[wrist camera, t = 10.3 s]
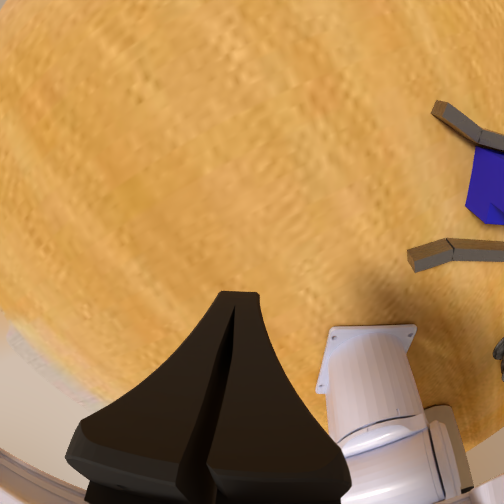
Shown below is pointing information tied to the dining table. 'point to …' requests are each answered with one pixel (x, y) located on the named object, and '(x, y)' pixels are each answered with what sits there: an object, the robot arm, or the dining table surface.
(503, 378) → the salt shaker
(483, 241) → the rail
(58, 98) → the dining table surface
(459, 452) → the travel mug
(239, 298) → the robot arm
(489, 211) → the blue cradle block
